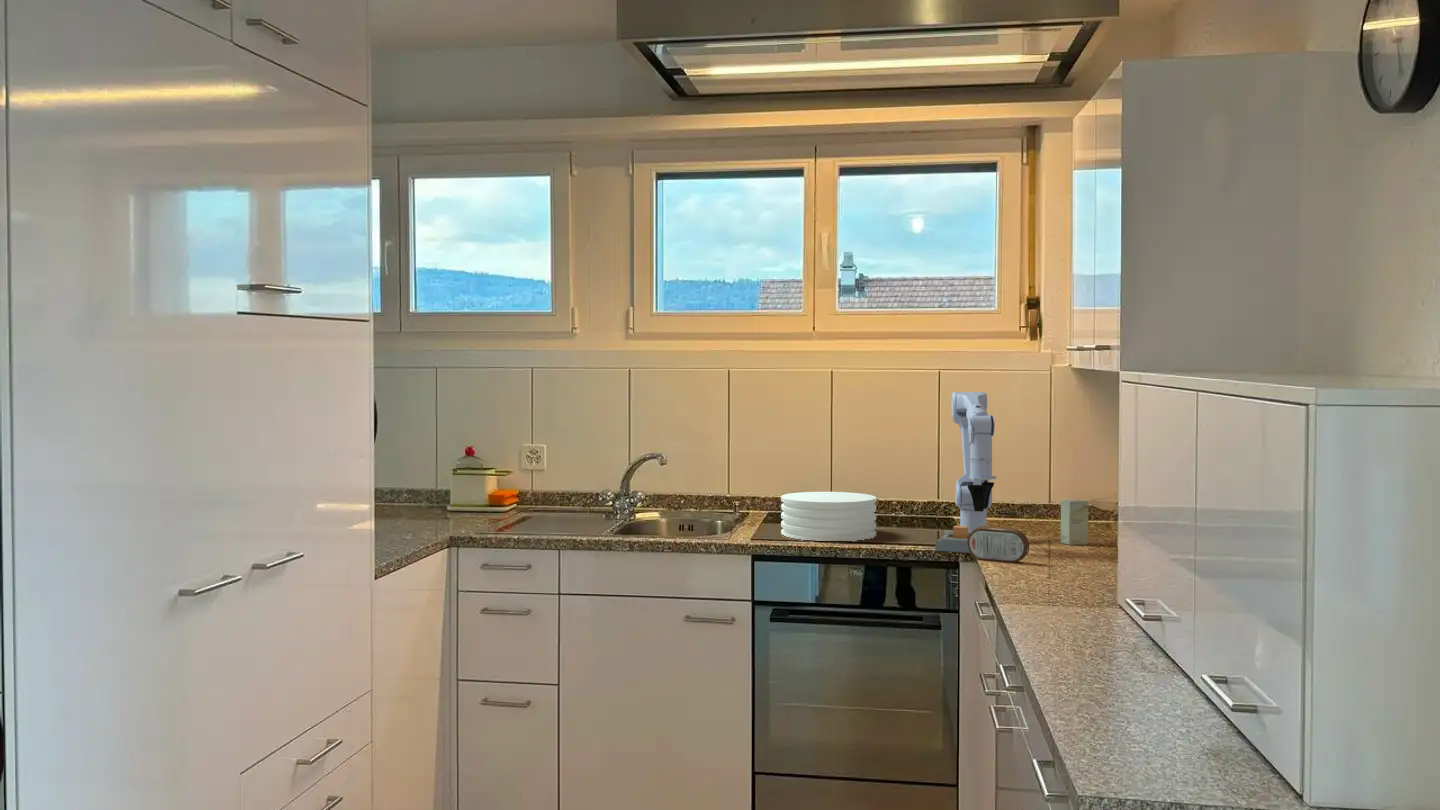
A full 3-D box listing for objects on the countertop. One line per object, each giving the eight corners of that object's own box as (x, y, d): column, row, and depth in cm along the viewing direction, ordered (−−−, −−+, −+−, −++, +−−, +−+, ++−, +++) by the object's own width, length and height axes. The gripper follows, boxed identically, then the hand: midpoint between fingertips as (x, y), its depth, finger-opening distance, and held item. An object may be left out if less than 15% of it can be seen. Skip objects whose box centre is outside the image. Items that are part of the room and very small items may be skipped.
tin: (1029, 562, 239) (1029, 529, 239) (1026, 564, 237) (1026, 530, 236) (969, 557, 247) (969, 524, 247) (965, 559, 244) (965, 526, 244)
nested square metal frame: (943, 544, 268) (943, 530, 268) (980, 546, 264) (980, 532, 264) (935, 550, 257) (935, 536, 257) (973, 553, 253) (973, 538, 253)
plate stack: (882, 542, 271) (882, 502, 271) (783, 542, 272) (783, 502, 272) (869, 528, 299) (869, 491, 299) (779, 528, 300) (779, 491, 300)
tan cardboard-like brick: (955, 547, 262) (955, 525, 262) (968, 548, 261) (968, 526, 261) (953, 549, 259) (953, 527, 259) (966, 550, 258) (966, 527, 258)
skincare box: (1069, 545, 266) (1069, 501, 265) (1059, 543, 270) (1059, 499, 270) (1089, 544, 267) (1089, 500, 267) (1079, 542, 271) (1079, 499, 271)
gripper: (992, 461, 252) (992, 513, 252) (999, 458, 265) (999, 507, 265) (965, 460, 255) (965, 512, 255) (973, 458, 268) (973, 506, 268)
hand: (981, 510), depth 260 cm, fingers open, 7 cm apart
